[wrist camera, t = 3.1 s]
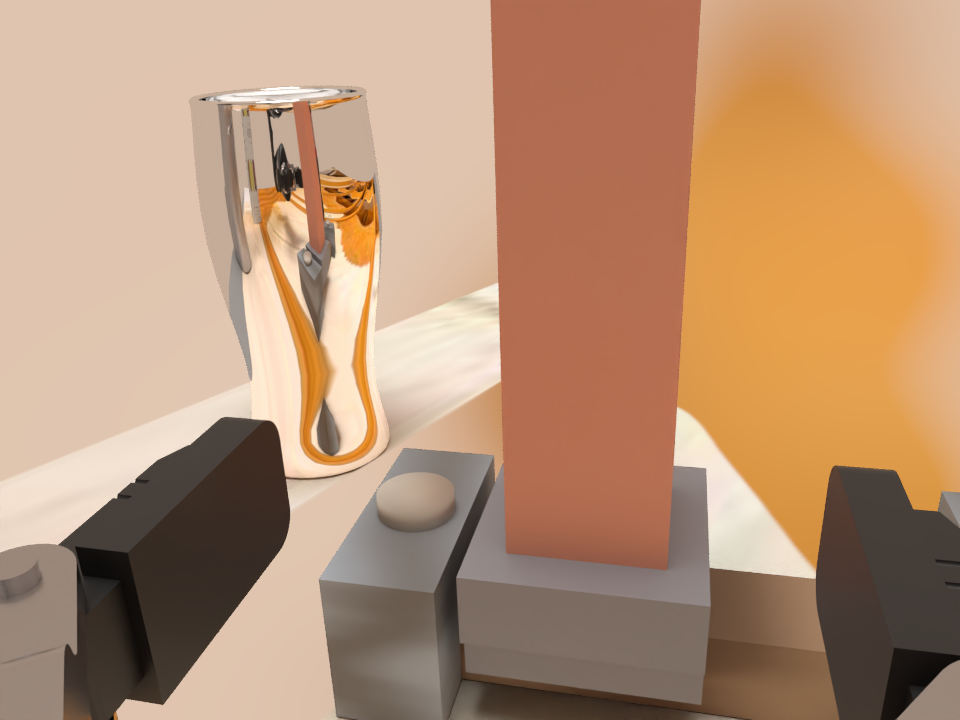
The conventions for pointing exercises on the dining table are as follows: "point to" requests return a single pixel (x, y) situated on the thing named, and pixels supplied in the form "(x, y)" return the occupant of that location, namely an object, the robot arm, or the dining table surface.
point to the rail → (441, 666)
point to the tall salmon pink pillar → (591, 357)
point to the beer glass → (298, 261)
